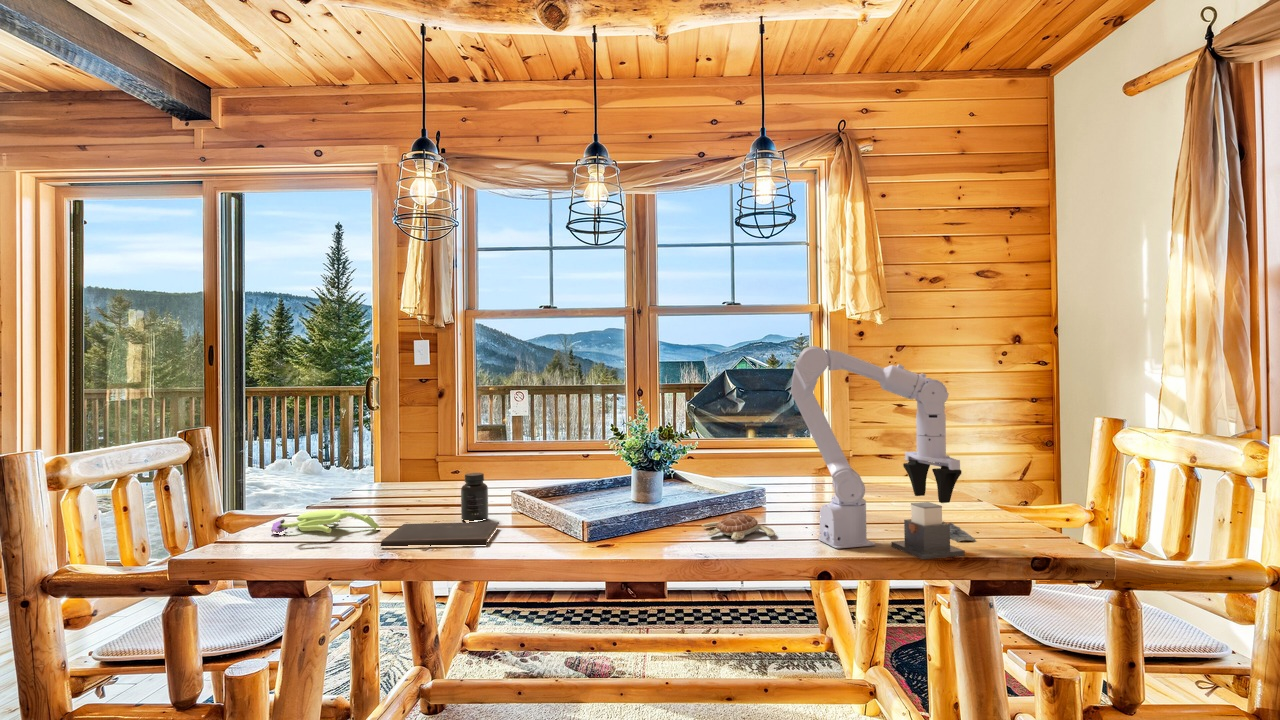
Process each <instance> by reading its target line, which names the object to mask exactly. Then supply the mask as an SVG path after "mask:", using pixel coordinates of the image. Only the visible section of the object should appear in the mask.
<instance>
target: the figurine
mask: <svg viewBox="0 0 1280 720" xmlns="http://www.w3.org/2000/svg"><path fill="white" fill-rule="evenodd" d="M347 517H349V518H350V517H351V518H355V519H357V520H360V521H363V522H365V523H366V524H368V525H369V527H371V528H372V527H373V528H372V529H374V530H375V529H376V528H380V529H381V526H380V525H379V524H378V523H377V522H375V520H374V519H373V518H372V517H371V516H370V515H367V514H365V515H362V514H360V513H357V512H352V511H351V512H350V511H346V510H342V509H321V510H320V509H319V510H313V511H309V512H304V513H301V514H300V515H298V516H297V517H296V520H297V521H296V522H291V523H285V522H286V520H285V519H284V518H283V519H280V520H278V521H276V522H274V523H273V524H272V527H271V533H273V532H276V533H278V532H279V533H280V532H282V531H284V530H285V531H286V530H288V529H290V528H298V529H299V530H300V531H301V532H308V531H309V532H311V531H321V532H324V533H328V534H331V532H332V528H331V527H330V526H329V525H330V524H335V523H334V522H337V523H338V522H339V521H340V520H343V519H345V518H347ZM329 527H330V528H329Z"/></svg>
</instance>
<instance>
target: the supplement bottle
mask: <svg viewBox="0 0 1280 720" xmlns="http://www.w3.org/2000/svg"><path fill="white" fill-rule="evenodd" d="M484 481H485V477H484V473H483V472H471V473H469V472H468V473H465V474H464V482H465V483H464V484H463V485H462V486H461V489H460V503H461V505H460V508H461V509H460V512H461V513H460V515H461V516H460V517H461V520H462V519H463V520H469V521H474V520H483V519H487V518H489V487H488V485H487V484H486V483H484ZM487 520H488V519H487Z"/></svg>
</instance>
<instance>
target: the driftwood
mask: <svg viewBox="0 0 1280 720" xmlns="http://www.w3.org/2000/svg"><path fill="white" fill-rule="evenodd" d="M943 522H944V523H946V521H943ZM947 524H950V540H952V541H956V543H959V542H961V541H971V542H976V541H977V539H976V538H975V537H973V536H971V535H970V534H969V533H968V532H966V531H965V530H962V529H961V527H960V526H957V525H955V524H954V523H953V522H949V523H947Z"/></svg>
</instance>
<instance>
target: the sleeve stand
mask: <svg viewBox="0 0 1280 720" xmlns="http://www.w3.org/2000/svg"><path fill="white" fill-rule="evenodd" d="M903 522H904V523H903V524H904V525H903V526H904V528H903V530H904V533H903V534H904V540H896V541H891V542H890V544H891V547H892V548H894V549H896V548H897V550H899V551H901V550H902V551H901V552H903V551H904V553H905V554H908V555H911V556H914V557H915V558H918V559H920V560H931V559H940V558H941V559H942V558H954V557H963V556H965V557H966V551H965V549H961V548H959V547H957V546H953V545H951V539H950V524H948V523H946V522H945V521H942V524H938V525H926V526H924V525H921V524H918V523H915V522H912V521H911V518H908V519H904V520H903ZM944 522H945V523H944Z"/></svg>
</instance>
